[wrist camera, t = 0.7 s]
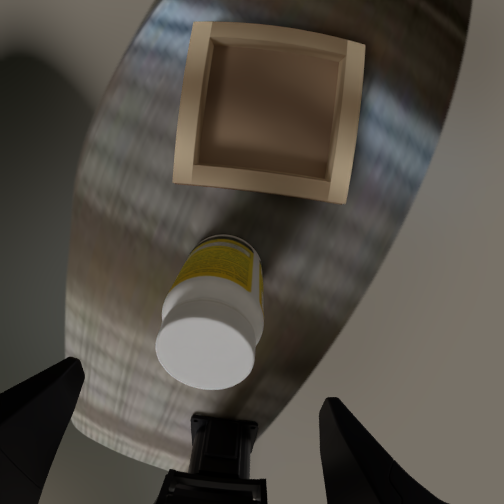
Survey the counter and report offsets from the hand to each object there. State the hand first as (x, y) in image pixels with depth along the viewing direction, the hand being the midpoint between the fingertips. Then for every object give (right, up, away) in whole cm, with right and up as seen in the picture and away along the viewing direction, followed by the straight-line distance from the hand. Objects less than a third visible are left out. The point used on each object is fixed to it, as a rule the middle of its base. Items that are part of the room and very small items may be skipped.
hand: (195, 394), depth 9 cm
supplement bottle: (0, +4, +10) cm, 11 cm away
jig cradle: (+3, +13, +6) cm, 14 cm away
